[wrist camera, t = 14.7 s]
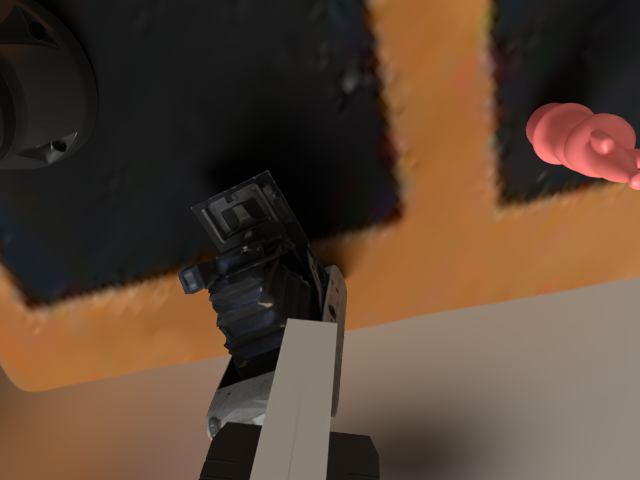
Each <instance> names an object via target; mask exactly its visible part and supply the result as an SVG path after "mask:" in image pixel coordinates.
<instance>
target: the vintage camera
mask: <svg viewBox="0 0 640 480" xmlns="http://www.w3.org/2000/svg"><path fill="white" fill-rule="evenodd" d="M191 209H192V210H193V212H194V213H195V215H196V216H197V217H198V219H199V220H200V222H201V223H202V225H203V226H204V228H205V229H206V231H207V232H208V234H209V235H210V237H211V238H212V240H213V241H214V242H215V244H216V245H217V247H218V248H219V250H220V251H221V254H218V257H216V258H214V259H213V260H211V261H204V262H198V263H196V264H194V265H192V266H190V267H188V268H186V269H184V270H183V271H181V272H179V273H178V275H179V280H180V282H181V284H182V286H183V289H184V292H185V294H194V293H196V292H198V291H200V290H202V289H204V288H205V289H208V290H209V291H208V293H210V297H209V301H211V302H212V306H213V309H214V310H215V312H216V313H217V314H218V317H217V323H216V324H217V327H218V326H219V329H220V330H221V331H222V332H223V333H224V335H225V336H226V343H225V344H224V347H226V348H227V349H228V350H229V354H231V355H232V357H231V359H230V361H229V364H228V366H227V368H226V370H225V372H224V375H223V377H222V379H221V381H220V384H219V386H218V388H217V390H216V392H215V395H214V397H213V400H212V402H211V405H210V407H209V410H208V413H207V434H208V436H209V437H210V439H211V440H212V439H213V437H214V436H215V435H216V434H217V433H218V432H219V430H220V429H221V428H222V427H223V426H224V425H225V423H226V422H227V421H228V422H237V423H246V424H255V425H263V421H264V417H265V413H266V408H267V404H268V400H269V396H270V392H271V387H272V383H273V379H274V375H275V370H276V366H277V362H278V358H279V354H280V349H281V345H282V341H283V337H284V333H285V328H286V324H287V320H288V318H289V319H299V320H309V321H319V322H328V323H337V337H336V350H335V364H334V378H333V391H332V405H331V419H333V418H334V417H335V416H336V412H337V406H338V400H339V389H340V376H341V364H342V351H343V340H344V327H345V316H346V304H347V288H346V284H345V281H344V278H343V275H342V274H341V272H340V270H339V268H338V267H337V266H335V265H332V266H329V267H326V268H324V267H323V265H322V263H321V261H320V259H319V258H318V256H317V254H316V253H315V252H314V251H313V249H312V247H311V244H310V242H309V240H308V238H307V236H306V234H305V233H304V231H303V229H302V228H301V226H300V224H299V222H298V221H297V219H296V217H295V215H294V214H293V212H292V210H291V209H290V207H289V205H288V203H287V202H286V200H285V198H284V196H283V195H282V193H281V191H280V190H279V188H278V186H277V184H276V183H275V181H274V179H273V178H272V176H271V174H270V172H269V171H268V170H267V171H265V172H263V173H261V174H259V175H257V176H255V177H253V178H251V179H249V180H247V181H245V182H243V183H241V184H239V185H237V186H234V187H232V188H230V189H228V190H226V191H224V192H222V193H220V194H218V195H216V196H213V197H211V198H209V199H207V200H205V201H203V202H201V203H199V204H197V205H195V206H193V207H192V208H191Z"/></svg>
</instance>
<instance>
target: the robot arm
mask: <svg viewBox="0 0 640 480" xmlns="http://www.w3.org/2000/svg"><path fill="white" fill-rule="evenodd" d="M97 110H98V94H97V87H96V82H95V78H94V74H93V71H92V68H91V66H90V63H89V61H88V59H87V56H86V55H85V53H84V51H83V49H82V47H81V46H80V44H79V42H78V41H77V40H76V38H75V37H74V35H73V34H72V33H71V32H70V30H69V29H68V28H67V27H66V26H65V25H64V24H63V23H62V22H61V21H60V20H59V19H58V18H57V17H56V16H55V15H54V14H53V13H52V12H50V11H49V10H48V9H46V8H45V7H44V6H42V5H41V4H39V3H37V2H36V1H34V0H0V169H36V168H41V167H45V166H49V165H52V164H54V163H56V162H58V161H60V160H62V159H65V158H67V157H69V156H70V155H72V154H74V153H75V152H76V151H78V150H79V149H80V148H81V147H82V146H83V145H84V144H85V142H86V141H87V140H88V138H89V136H90V135H91V132H92V130H93V128H94V125H95V121H96V117H97ZM336 337H337V323H328V322H319V321H309V320H299V319H289V318H288V320H287V324H286V328H285V333H284V337H283V341H282V345H281V349H280V354H279V358H278V362H277V366H276V370H275V375H274V379H273V383H272V387H271V392H270V396H269V400H268V404H267V408H266V413H265V417H264V421H263V425H255V424H246V423H237V422H228V421H227V422H226V423H225V425H224V426H223V427H222V428H221V429H220V430H219V432H218V433H217V434H216V435H215V436H214V437H213V439H212V442H211V445H210V448H209V451H208V454H207V457H206V461H205V462H204V465H203V468H202V471H201V474H200V479H199V480H379V477H380V475H379V455H378V453H377V451H376V449H375V447H374V445H373V442H372V440H371V438H370V436H365V435H356V434H347V433H338V432H330V419H331V405H332V391H333V378H334V364H335V350H336Z"/></svg>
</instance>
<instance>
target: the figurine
mask: <svg viewBox="0 0 640 480" xmlns="http://www.w3.org/2000/svg"><path fill="white" fill-rule="evenodd" d="M526 134H527V138H528V140H529V141H530V142H531V143H532V144H533V147H534V150H535V152H536V154H537V155H538V156H539V157H540V158H541V159H542V160H544V161H545V162H548V163H551V164H563V165H565V166H566V167H568V168H570V169H572V170H575V171H578V172H580V173H582V174H584V175H587V176H591V177H603V178H605V179H607V180H610V181H614V182H628V185H629V186H630V187H632V188H633V189H636V190H640V170H638V168H640V149H634V146H635V141H636V137H635V133H634V130H633V129H632V127H631V126H630V125H629V123H628V122H626V121H625V120H624V119H622V118H621V117H618V116H616V115H612V114H596V115H594V114H593V112H592V111H591V110H590V109H588V108H587V107H585V106H583V105H580V104H577V103H565V104H560V103H549V104H545V105H543V106H541V107H540V108H538V109H537V110H536V111H535V112H534V113H533V114H532V115H531V116H530V118H529V120H528V122H527V126H526Z"/></svg>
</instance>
